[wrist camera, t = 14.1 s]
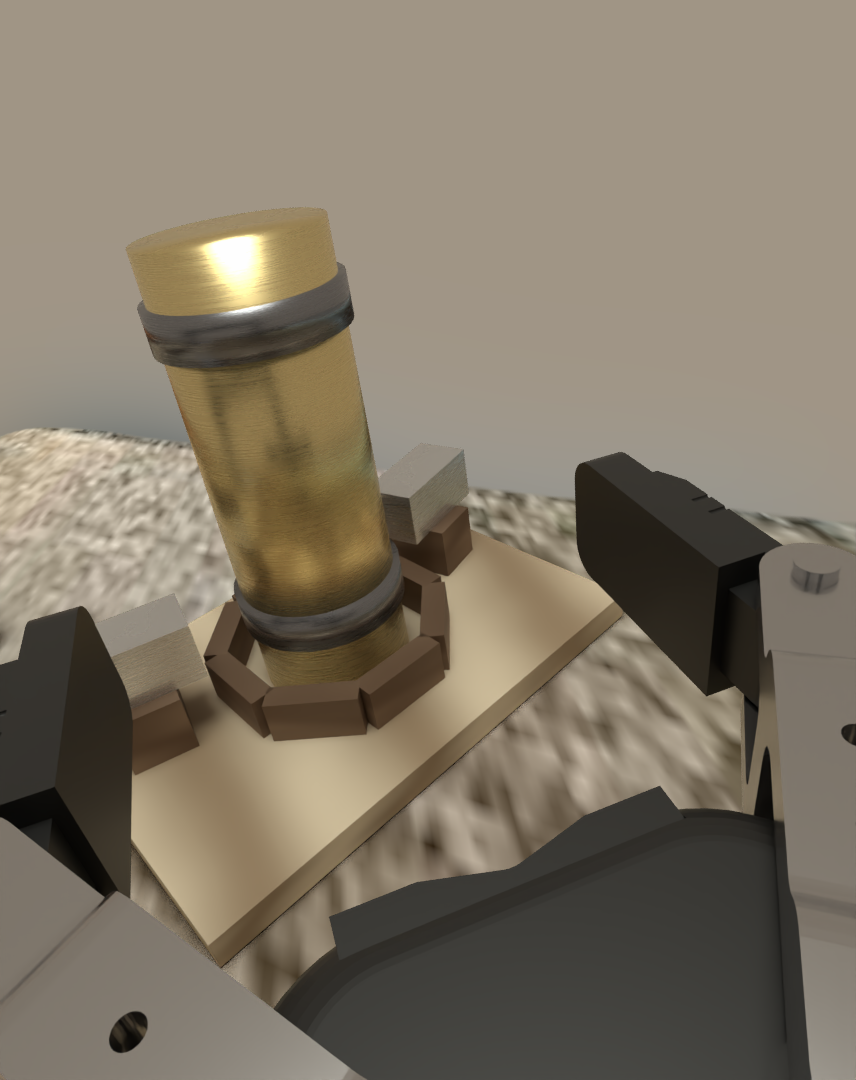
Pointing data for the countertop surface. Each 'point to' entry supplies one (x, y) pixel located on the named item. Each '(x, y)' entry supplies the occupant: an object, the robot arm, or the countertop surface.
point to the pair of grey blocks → (163, 633)
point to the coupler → (279, 433)
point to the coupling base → (348, 786)
